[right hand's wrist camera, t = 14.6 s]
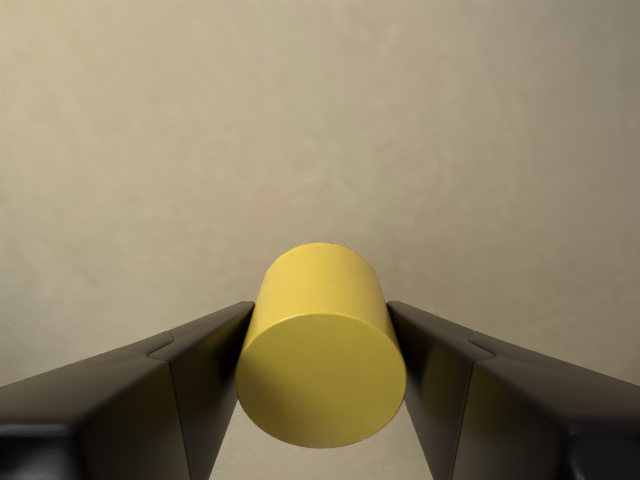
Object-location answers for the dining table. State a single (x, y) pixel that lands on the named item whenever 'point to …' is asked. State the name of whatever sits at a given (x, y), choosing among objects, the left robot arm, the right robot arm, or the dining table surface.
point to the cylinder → (320, 351)
